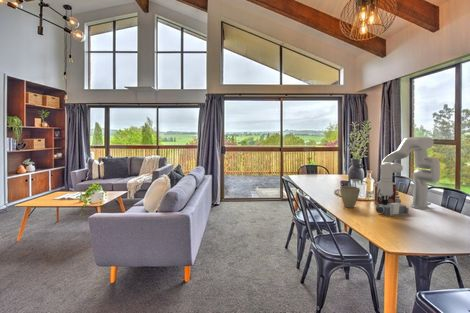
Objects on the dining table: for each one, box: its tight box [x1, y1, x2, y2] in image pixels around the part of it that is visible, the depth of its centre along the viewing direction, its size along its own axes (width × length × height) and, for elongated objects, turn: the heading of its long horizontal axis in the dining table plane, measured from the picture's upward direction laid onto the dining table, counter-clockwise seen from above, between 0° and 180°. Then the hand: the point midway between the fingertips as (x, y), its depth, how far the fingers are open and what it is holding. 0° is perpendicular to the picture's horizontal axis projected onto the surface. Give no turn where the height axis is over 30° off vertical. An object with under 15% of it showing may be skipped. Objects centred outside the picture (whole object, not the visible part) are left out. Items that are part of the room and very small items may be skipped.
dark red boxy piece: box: [374, 181, 402, 206], centre depth 211 cm, size 9×19×20 cm, turn 78°
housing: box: [375, 203, 409, 217], centre depth 192 cm, size 21×11×7 cm, turn 104°
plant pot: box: [340, 185, 361, 209], centre depth 209 cm, size 15×15×16 cm
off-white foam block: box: [390, 203, 400, 215], centre depth 187 cm, size 7×2×8 cm, turn 104°
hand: (384, 204), depth 184 cm, fingers closed
